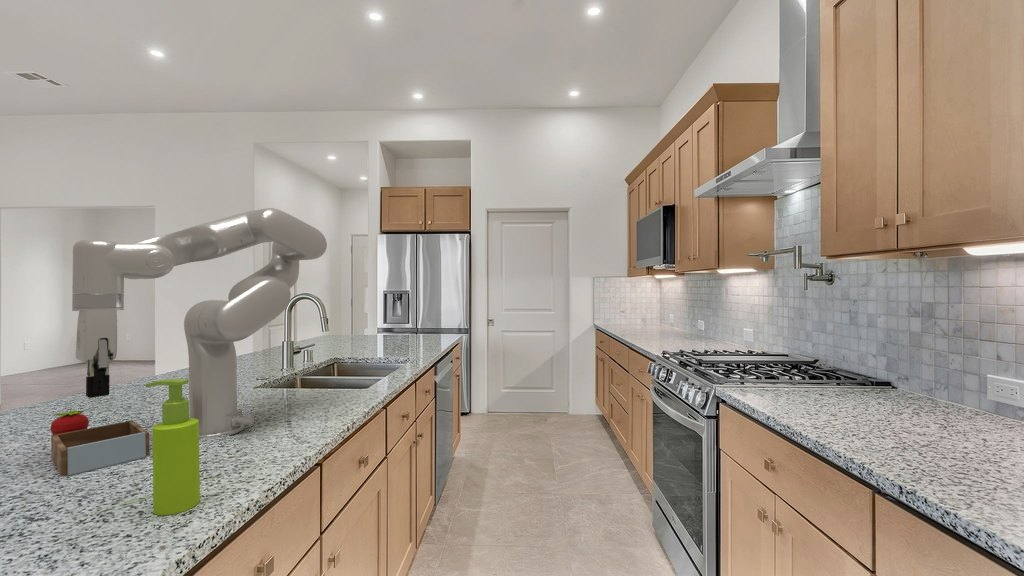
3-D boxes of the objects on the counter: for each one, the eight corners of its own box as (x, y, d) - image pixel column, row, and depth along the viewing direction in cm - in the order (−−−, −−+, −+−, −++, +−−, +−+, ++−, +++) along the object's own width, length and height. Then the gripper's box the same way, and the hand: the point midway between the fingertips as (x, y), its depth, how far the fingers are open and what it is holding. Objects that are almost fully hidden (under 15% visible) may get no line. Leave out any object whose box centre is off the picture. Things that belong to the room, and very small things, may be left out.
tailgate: (67, 477, 81) (66, 447, 81) (145, 458, 90) (145, 431, 90) (67, 478, 80) (67, 448, 80) (146, 459, 89) (145, 432, 89)
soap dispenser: (163, 498, 73) (161, 376, 73) (207, 496, 74) (206, 375, 74) (136, 517, 67) (134, 384, 67) (185, 514, 68) (182, 383, 68)
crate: (51, 462, 89) (51, 435, 89) (132, 445, 99) (132, 420, 99) (61, 481, 80) (61, 450, 80) (149, 459, 90) (149, 432, 90)
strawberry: (47, 458, 92) (46, 409, 92) (54, 448, 98) (53, 402, 98) (86, 451, 95) (86, 404, 95) (91, 442, 101) (90, 398, 101)
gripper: (66, 303, 90) (65, 394, 90) (78, 303, 81) (77, 405, 81) (115, 302, 96) (114, 388, 96) (132, 303, 87) (131, 398, 87)
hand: (97, 395), depth 88 cm, fingers closed
